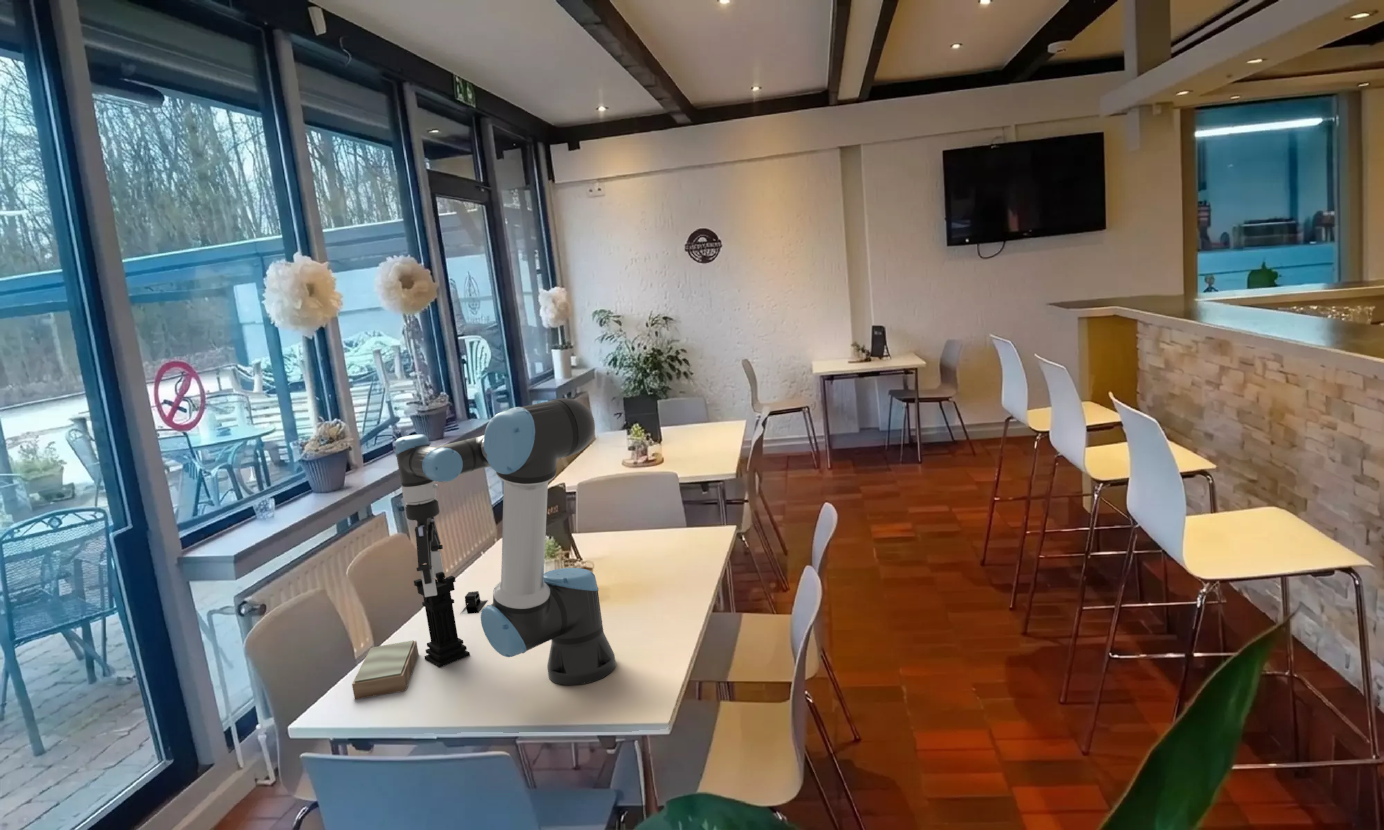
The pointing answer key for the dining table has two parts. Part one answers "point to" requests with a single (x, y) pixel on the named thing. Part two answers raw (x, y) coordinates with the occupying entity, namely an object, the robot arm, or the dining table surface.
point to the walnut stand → (386, 669)
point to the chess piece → (442, 623)
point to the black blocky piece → (473, 603)
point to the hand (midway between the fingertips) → (434, 586)
